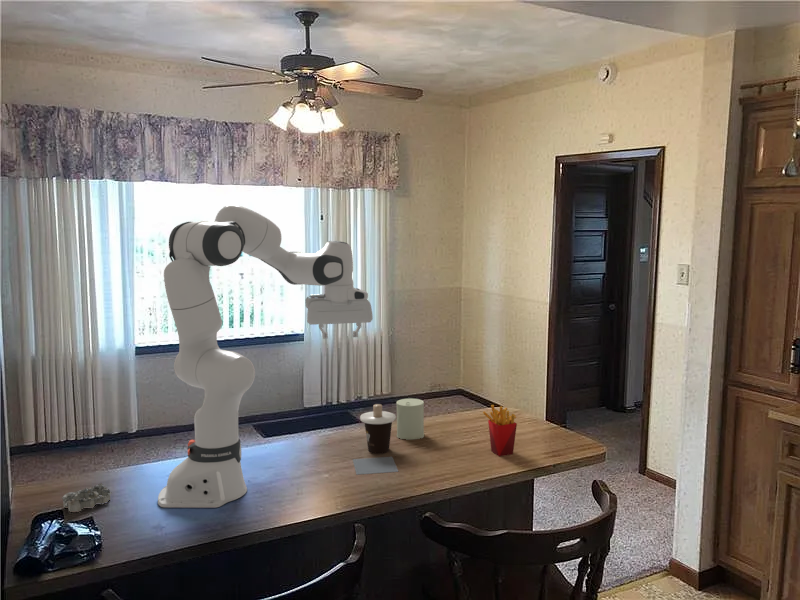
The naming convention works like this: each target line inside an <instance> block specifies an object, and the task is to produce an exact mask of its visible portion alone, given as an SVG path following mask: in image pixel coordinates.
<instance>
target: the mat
mask: <svg viewBox="0 0 800 600" xmlns="http://www.w3.org/2000/svg"><path fill="white" fill-rule="evenodd" d="M352 462H353V466H354V470H355V474H356V476H358V475H370V474H371V475H372V474H384V473H398V472H399V469H398V467H397V465H396V462H395V460H394V458H393V456H382V457H381V456H380V457H365V458H352Z"/></svg>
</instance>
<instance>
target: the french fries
mask: <svg viewBox="0 0 800 600" xmlns="http://www.w3.org/2000/svg"><path fill="white" fill-rule="evenodd" d="M490 408H491V411H490V412H489V413H487V412H486V411H485V410H483V412H482V414H483V415H484V416H485V417H486V418H488V419H487V420H488V421H487V422H488V432H489V441H490V450H491V452H492V453H493V454H495V455H496V456H498V457H504V456H510V455H513V454H514V450H515V449H514V448H515V442H516V434H517V425H518V424H517V423H516V422H515V419H516V418H517V416H516V414H515V413H511V415H510V411H509V410H508V407H504V408H503V406H501V405H500V406H499V410H498V409H496V408H495V405H494V404H491V405H490ZM489 414H490V415H489Z"/></svg>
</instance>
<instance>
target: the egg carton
mask: <svg viewBox="0 0 800 600" xmlns="http://www.w3.org/2000/svg"><path fill="white" fill-rule="evenodd" d="M111 494H113V492H111V490H110V489H108V487H106V485H104V484H103V483H102V482H100V483H98V484H96V485H94V486H90V487H89V488H87V487H85V488H83V489H80V490H77V491H71V492H70V491H69V492H66V493H64V495H63V496H62V497H61V500H62V503H63V508H64V507H65V508H66V507H68V509H67V510H68V512H69V511H70V512H71V511H81V512H82V510H81V509H82V508H84V507H93V506H95V504H96V503H105V502H108V500H111ZM99 495H102V496H99ZM84 498H85V499H84ZM108 503H109V502H108ZM95 507H96V506H95Z"/></svg>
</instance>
